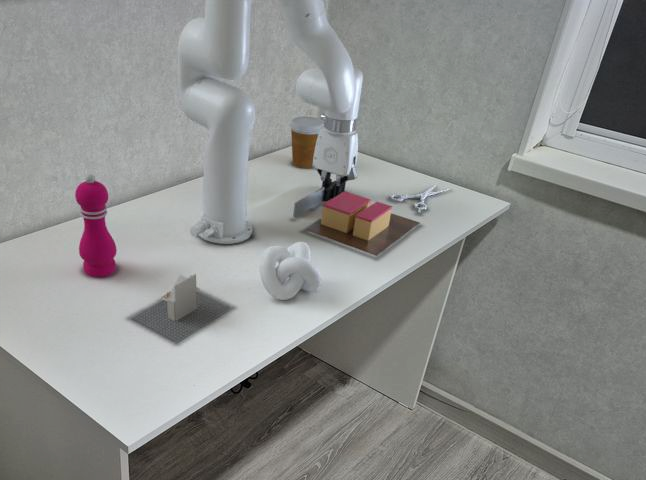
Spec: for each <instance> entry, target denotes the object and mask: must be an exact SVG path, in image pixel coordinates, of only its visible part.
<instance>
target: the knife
mask: <svg viewBox="0 0 646 480" xmlns="http://www.w3.org/2000/svg"><path fill="white" fill-rule="evenodd" d="M335 183H336V179H335V180H332V183H330V184H328V185H326V186H324V187H322V186H321V187H320V188H319V189H318V190H316V191H313V192H312V193H310V194H309V195H307V196H305V197H303V198H301V199H299V200H297V201H295V202H293V215H292V217H293V218H296V217H298V216H299V215H302V214H303V213H305V212H306V211H308V210H309V209H311V208H313V207H315V206H317V205H318V204H320V203H322V202H324V203H326V202H327V201H329V200H331V199H332V192H333V185H335ZM346 184H347V181H346V182H345V183H343V185H342V193H343V192H345V191H346Z"/></svg>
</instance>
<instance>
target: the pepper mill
mask: <svg viewBox="0 0 646 480" xmlns="http://www.w3.org/2000/svg"><path fill="white" fill-rule="evenodd" d="M74 195H75V196H74V197H75V200H76V203H77V204H78V205H79V214H80V217H82V219H83V224H84V226H83V232H82V236H81V238H80V241H79V246H78V253H79V254H78V255H79V257H80V258H81V259H82V260H83V263H82V264H83V265H82V266H83V271H84V274H86V275H87V276H89V277H91V278H104V277H105V278H106V277H108V276H110V275H113V274H114V273H115V271H116V270H117V267H116V266H117V265H116V259H115V257H116V256H117V246H116V242H115V240H114V238H113V236H112V234H111V233H110V231H109V230H108V228H107V223H106V216H107V215H108V211H107V210H108V207H107V205H106V204H107V203H108V202H109V192H108V189H107V187H106V186H105V185H104V184H103V183H102V182H100V181H98V180H96V177H95V175H94V174H92V173H87V174H86V175H85V177H84V181H83V182H81V183H79V184H78V185H77V187H76V189H75V193H74Z"/></svg>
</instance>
